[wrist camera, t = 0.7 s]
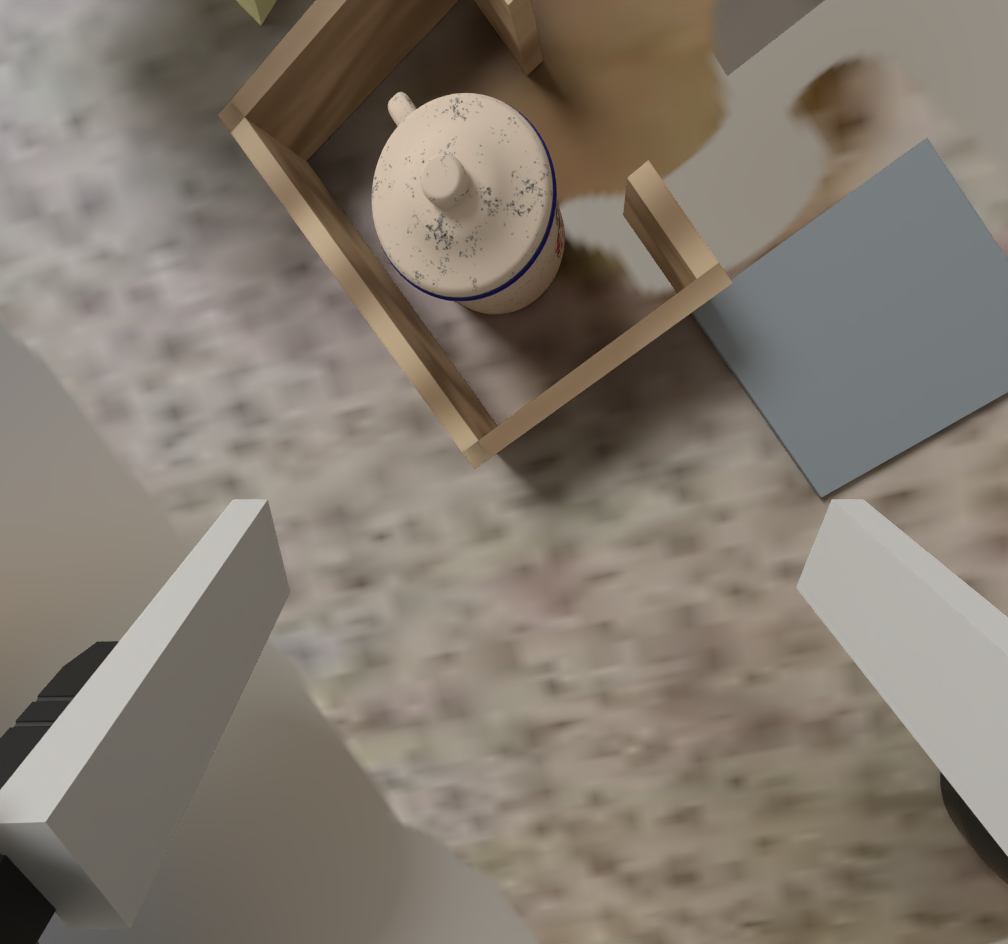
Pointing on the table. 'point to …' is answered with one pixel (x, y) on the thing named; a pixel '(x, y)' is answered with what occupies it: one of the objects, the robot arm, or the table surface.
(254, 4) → the slatted curved stool
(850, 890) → the table surface
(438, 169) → the teacup with lid
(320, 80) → the open enclosure
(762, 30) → the platform
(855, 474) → the mat
